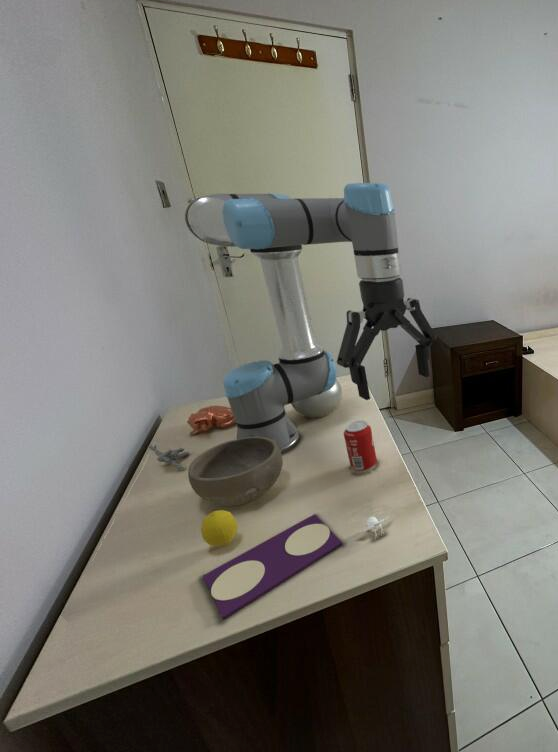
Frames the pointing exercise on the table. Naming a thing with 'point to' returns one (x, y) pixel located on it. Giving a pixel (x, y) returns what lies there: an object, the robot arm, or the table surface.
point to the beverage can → (360, 446)
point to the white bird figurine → (373, 525)
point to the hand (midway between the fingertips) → (396, 386)
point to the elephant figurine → (170, 456)
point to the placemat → (269, 564)
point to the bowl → (236, 471)
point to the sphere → (320, 403)
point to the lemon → (219, 528)
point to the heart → (211, 418)
